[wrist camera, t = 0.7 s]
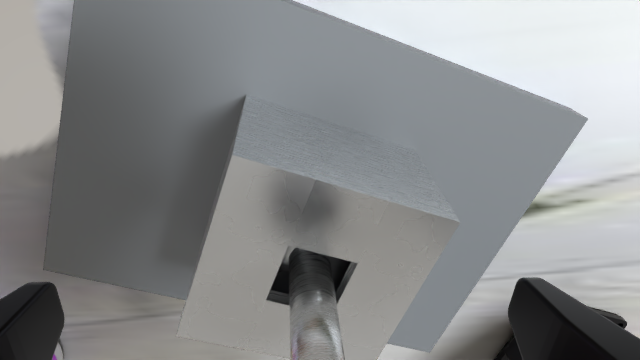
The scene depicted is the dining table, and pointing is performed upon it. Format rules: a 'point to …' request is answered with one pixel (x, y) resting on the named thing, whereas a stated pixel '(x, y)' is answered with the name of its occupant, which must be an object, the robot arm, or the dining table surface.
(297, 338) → the plunger
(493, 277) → the dining table surface
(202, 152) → the board
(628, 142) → the dining table surface
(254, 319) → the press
